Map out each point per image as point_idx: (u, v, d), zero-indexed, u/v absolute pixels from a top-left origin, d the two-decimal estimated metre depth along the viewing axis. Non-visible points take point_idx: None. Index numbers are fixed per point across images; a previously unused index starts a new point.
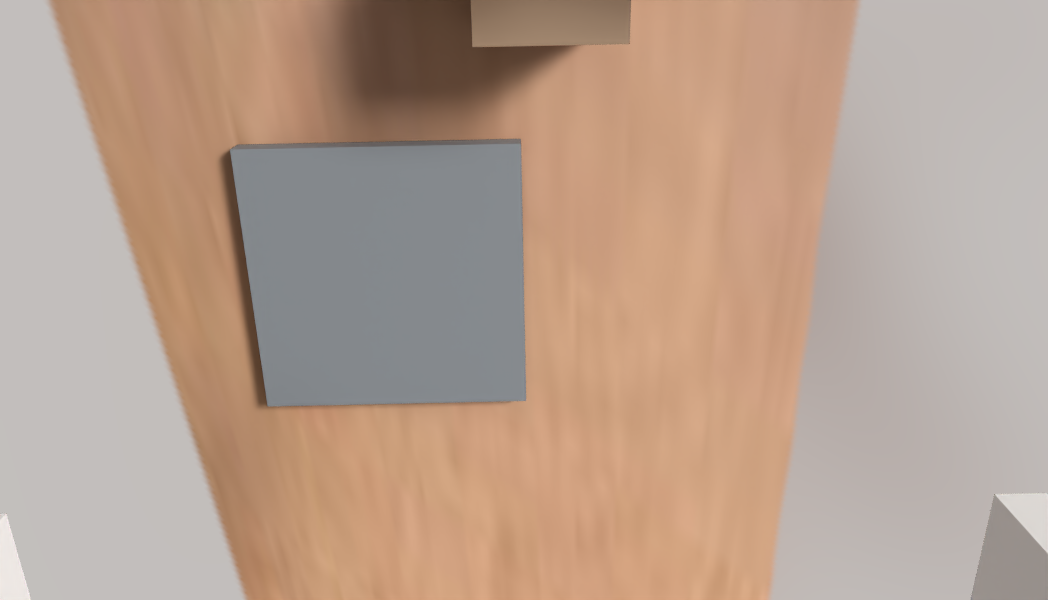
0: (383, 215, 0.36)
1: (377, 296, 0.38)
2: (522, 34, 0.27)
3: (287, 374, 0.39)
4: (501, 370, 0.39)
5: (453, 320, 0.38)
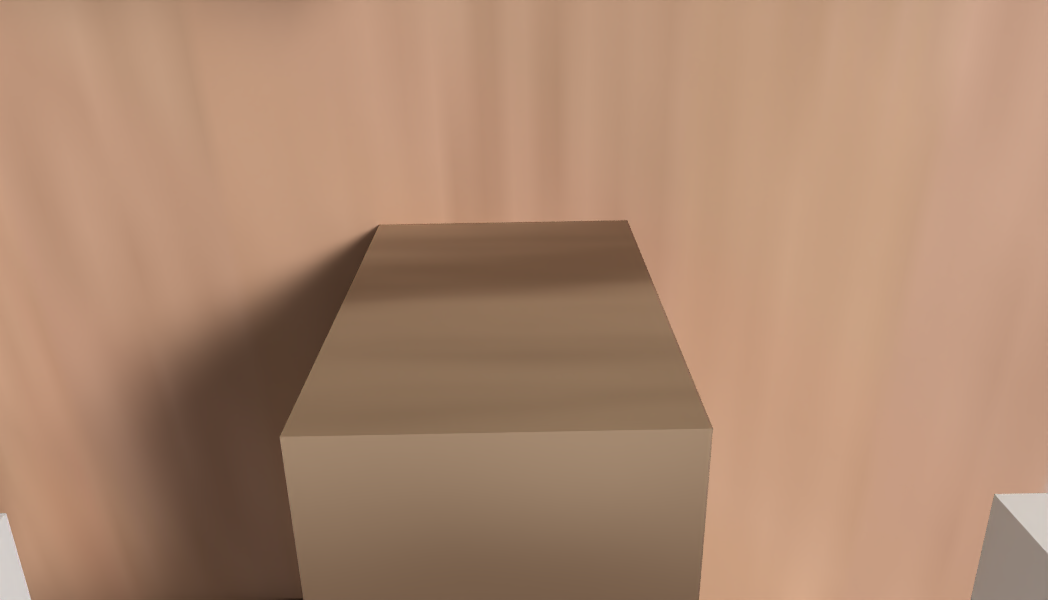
0: None
1: None
2: None
3: None
4: None
5: None
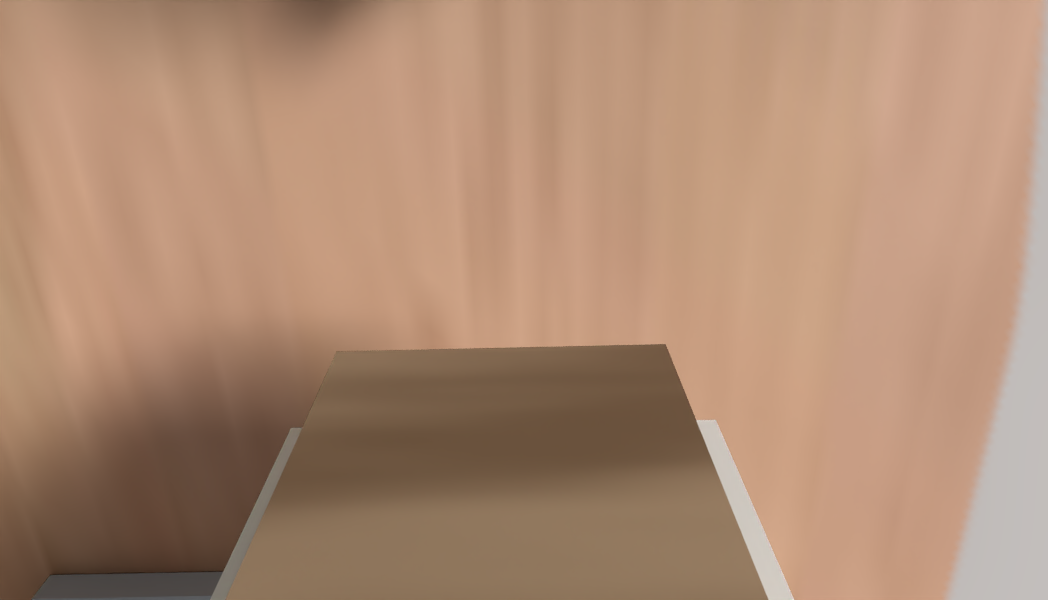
0: None
1: None
2: None
3: None
4: None
5: None
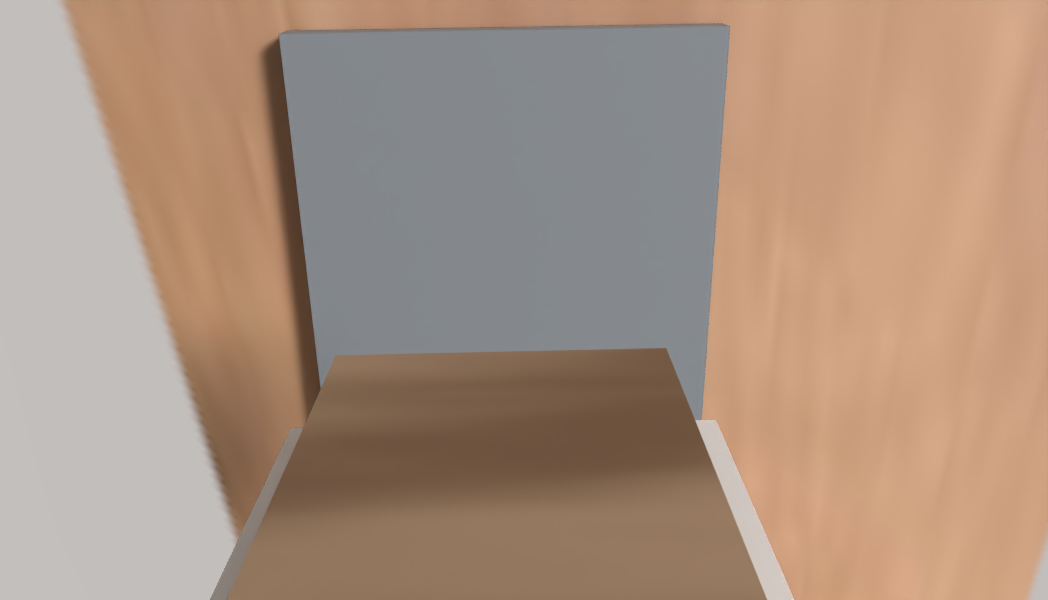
0: (510, 140, 0.24)
1: (494, 265, 0.25)
2: None
3: None
4: None
5: (605, 302, 0.26)
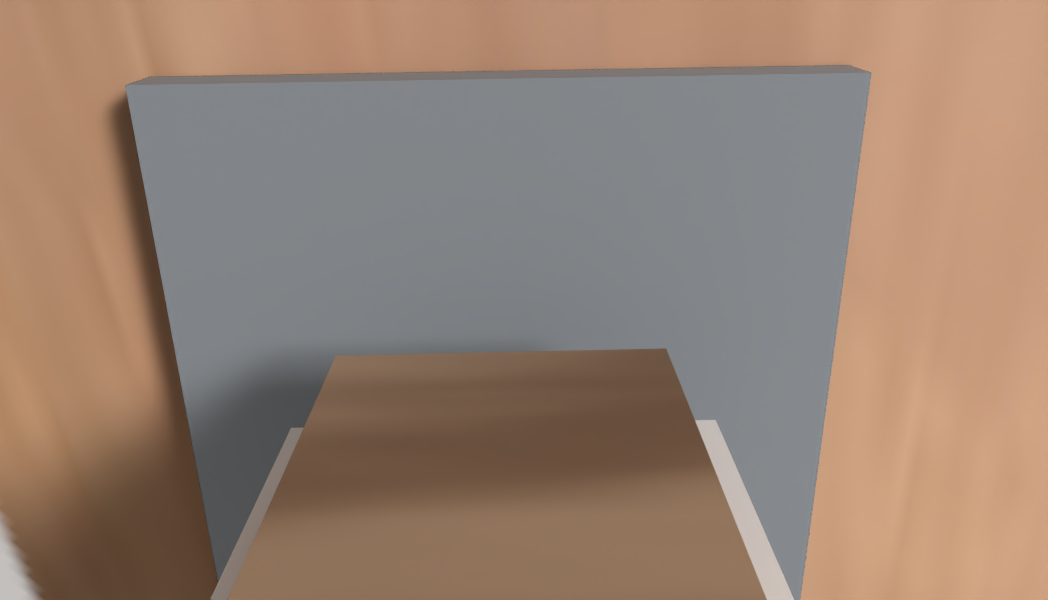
0: (508, 252, 0.15)
1: None
2: None
3: None
4: None
5: None
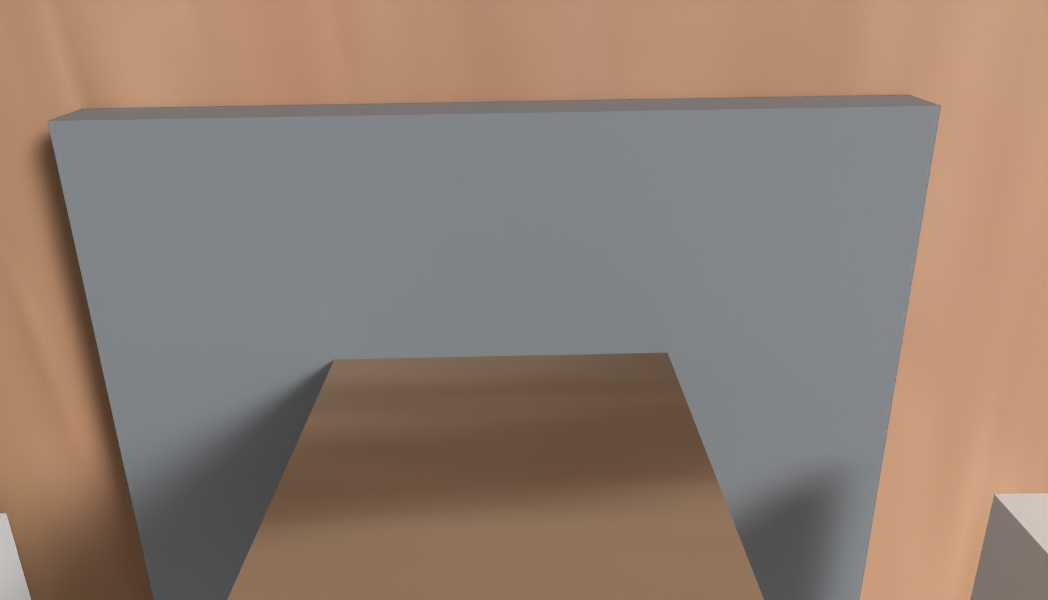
0: (507, 315, 0.13)
1: None
2: None
3: None
4: None
5: None
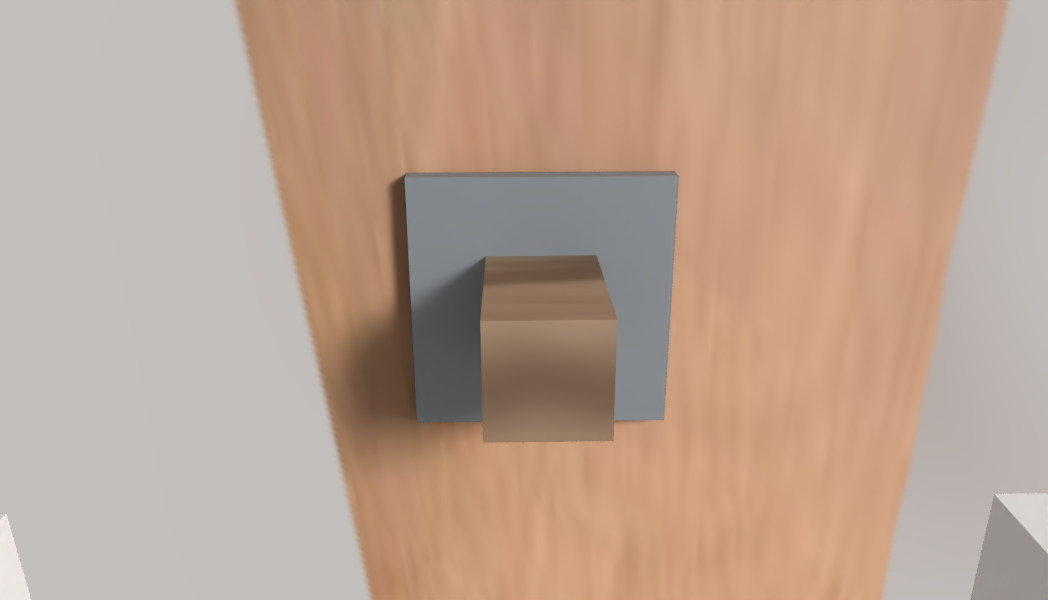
0: (543, 241, 0.38)
1: None
2: (524, 433, 0.33)
3: (438, 392, 0.41)
4: (642, 390, 0.41)
5: None
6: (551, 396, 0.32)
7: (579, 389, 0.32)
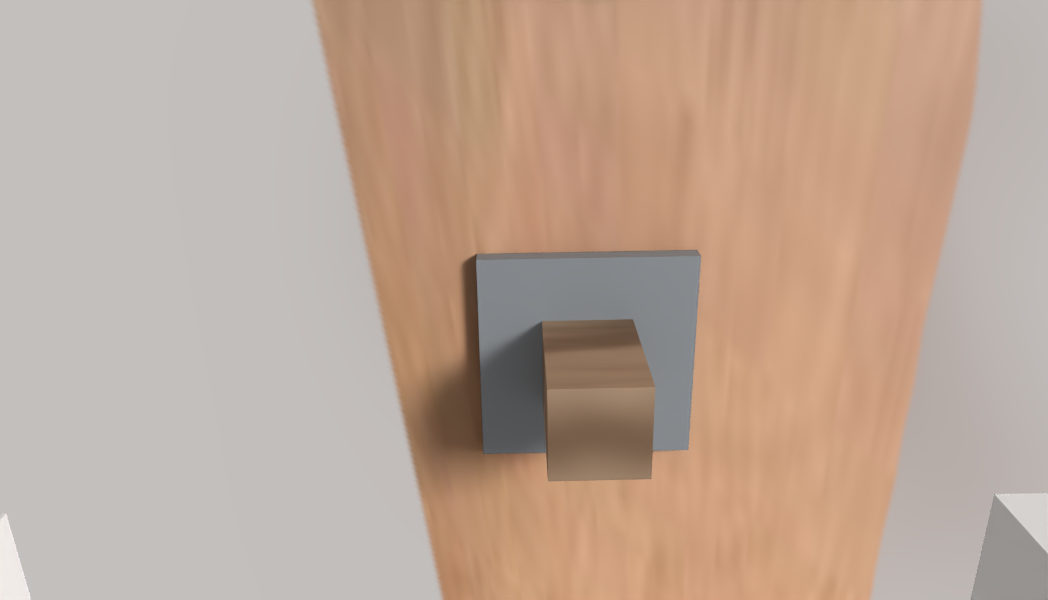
0: (589, 309, 0.47)
1: None
2: (580, 474, 0.41)
3: (502, 429, 0.49)
4: (670, 426, 0.49)
5: None
6: (602, 445, 0.41)
7: (624, 440, 0.41)
